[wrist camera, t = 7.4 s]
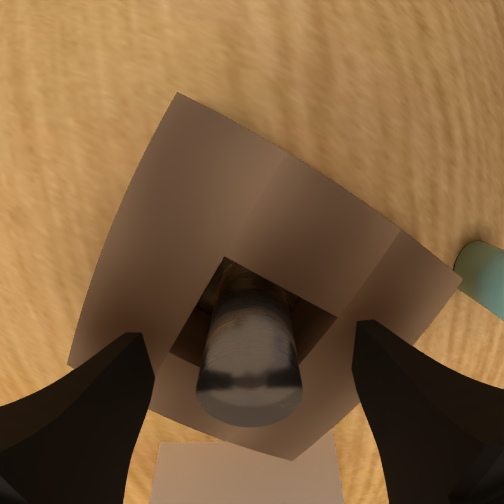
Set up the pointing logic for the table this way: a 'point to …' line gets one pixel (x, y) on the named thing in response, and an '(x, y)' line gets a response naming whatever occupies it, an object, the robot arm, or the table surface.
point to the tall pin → (249, 353)
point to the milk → (245, 475)
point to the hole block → (257, 260)
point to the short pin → (482, 275)
